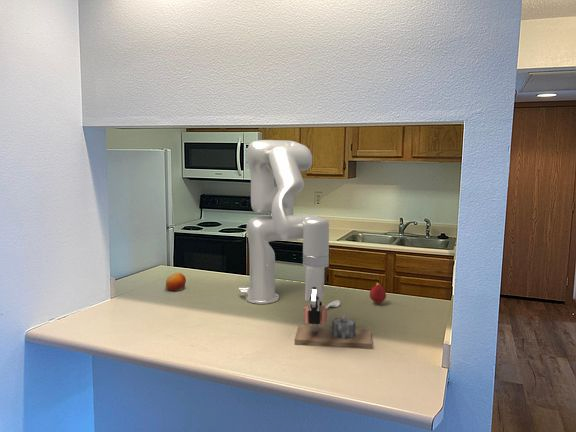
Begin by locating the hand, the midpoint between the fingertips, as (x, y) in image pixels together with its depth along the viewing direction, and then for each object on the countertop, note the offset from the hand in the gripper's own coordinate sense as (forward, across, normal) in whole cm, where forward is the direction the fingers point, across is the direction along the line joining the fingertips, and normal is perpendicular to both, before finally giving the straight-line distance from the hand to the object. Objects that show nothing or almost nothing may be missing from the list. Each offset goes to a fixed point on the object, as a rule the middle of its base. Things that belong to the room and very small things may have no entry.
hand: (315, 318), depth 134 cm
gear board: (+6, 0, +5) cm, 8 cm away
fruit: (+6, -41, -60) cm, 73 cm away
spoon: (+7, -24, +1) cm, 25 cm away
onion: (+6, -34, +20) cm, 40 cm away
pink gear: (+1, 0, 0) cm, 1 cm away
